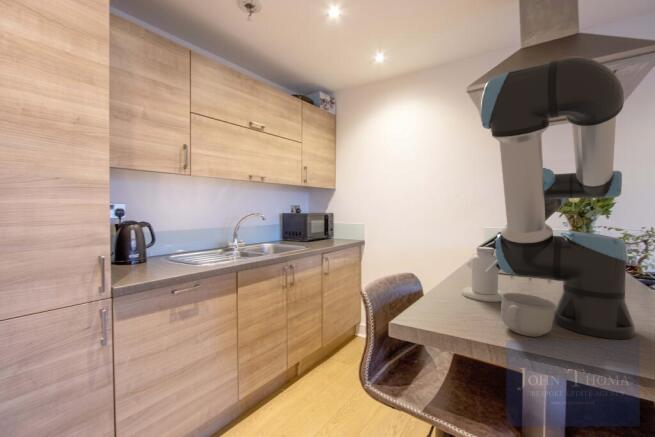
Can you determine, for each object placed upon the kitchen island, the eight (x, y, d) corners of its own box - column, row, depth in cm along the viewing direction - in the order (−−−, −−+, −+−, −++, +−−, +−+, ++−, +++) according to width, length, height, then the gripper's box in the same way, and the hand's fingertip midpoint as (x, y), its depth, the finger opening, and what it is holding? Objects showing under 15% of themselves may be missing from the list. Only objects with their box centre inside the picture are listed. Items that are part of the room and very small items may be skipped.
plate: (506, 304, 94) (506, 300, 94) (457, 297, 102) (457, 293, 102) (509, 294, 105) (510, 290, 105) (465, 288, 113) (465, 284, 113)
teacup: (518, 320, 81) (519, 290, 81) (564, 336, 71) (565, 301, 71) (482, 329, 75) (482, 297, 75) (527, 347, 65) (528, 310, 65)
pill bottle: (498, 291, 105) (499, 247, 104) (497, 296, 98) (497, 250, 98) (473, 287, 109) (473, 245, 109) (469, 293, 102) (470, 248, 102)
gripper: (559, 236, 91) (507, 287, 91) (508, 230, 115) (468, 270, 116) (541, 218, 90) (490, 269, 91) (495, 216, 115) (454, 256, 116)
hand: (477, 270), depth 103 cm, fingers open, 13 cm apart
